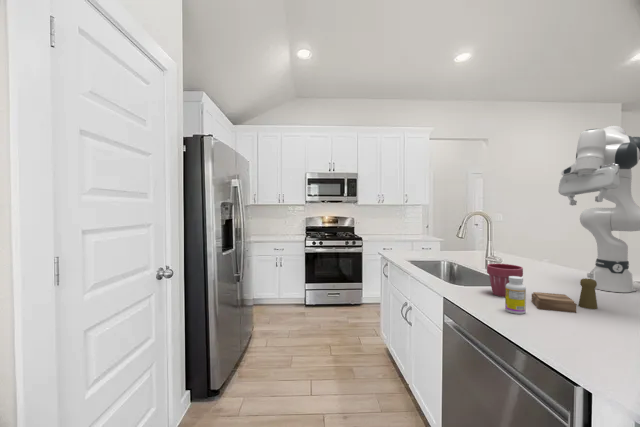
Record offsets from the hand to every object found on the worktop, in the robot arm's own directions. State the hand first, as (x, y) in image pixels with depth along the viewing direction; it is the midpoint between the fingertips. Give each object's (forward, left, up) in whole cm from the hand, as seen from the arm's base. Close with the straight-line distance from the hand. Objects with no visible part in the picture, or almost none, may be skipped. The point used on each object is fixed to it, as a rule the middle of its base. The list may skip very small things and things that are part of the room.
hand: (585, 203), depth 129 cm
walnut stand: (-3, -9, -40) cm, 41 cm away
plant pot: (-17, -24, -41) cm, 50 cm away
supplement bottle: (+10, -24, -41) cm, 48 cm away
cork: (-8, +4, -41) cm, 42 cm away
